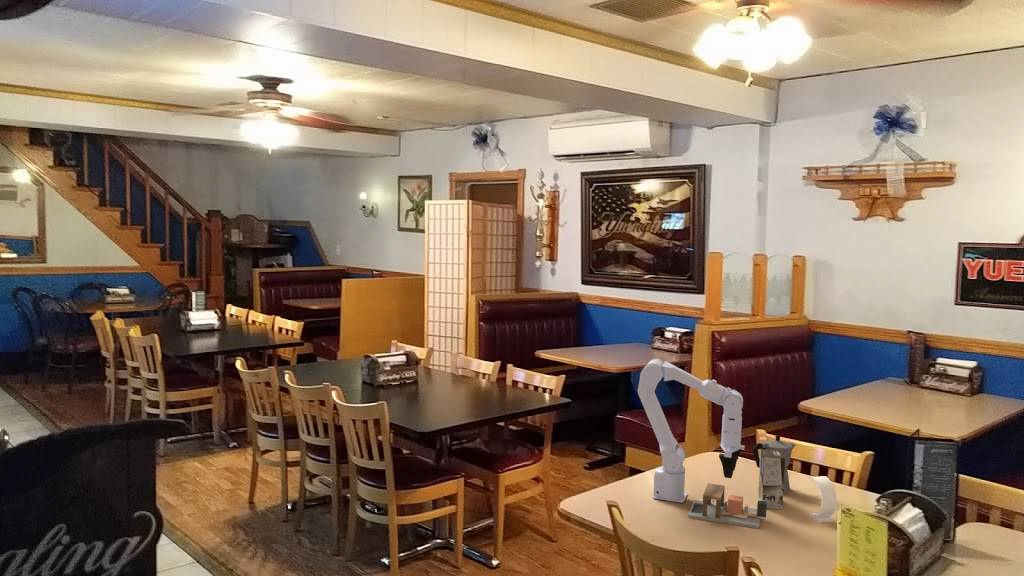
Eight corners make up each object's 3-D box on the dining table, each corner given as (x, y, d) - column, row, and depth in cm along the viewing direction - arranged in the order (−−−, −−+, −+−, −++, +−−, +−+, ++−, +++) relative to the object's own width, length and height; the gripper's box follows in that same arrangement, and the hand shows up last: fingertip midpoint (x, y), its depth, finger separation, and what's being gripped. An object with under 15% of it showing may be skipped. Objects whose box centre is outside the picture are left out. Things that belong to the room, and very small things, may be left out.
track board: (687, 517, 221) (688, 514, 221) (694, 502, 234) (694, 499, 233) (758, 528, 214) (759, 525, 214) (761, 512, 226) (761, 509, 226)
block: (727, 512, 222) (728, 499, 221) (728, 507, 225) (729, 494, 225) (741, 514, 220) (742, 501, 220) (742, 509, 224) (743, 496, 223)
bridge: (702, 515, 221) (703, 495, 220) (707, 502, 231) (707, 483, 230) (719, 518, 219) (720, 497, 218) (723, 505, 229) (724, 485, 229)
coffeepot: (785, 482, 252) (787, 430, 251) (801, 492, 243) (804, 438, 242) (743, 485, 249) (745, 432, 247) (758, 495, 240) (761, 440, 238)
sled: (721, 514, 221) (722, 500, 221) (723, 507, 227) (724, 493, 226) (765, 521, 217) (766, 506, 216) (766, 514, 222) (767, 499, 222)
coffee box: (783, 510, 228) (785, 458, 227) (761, 508, 229) (763, 456, 228) (778, 499, 237) (781, 449, 236) (757, 497, 238) (759, 448, 237)
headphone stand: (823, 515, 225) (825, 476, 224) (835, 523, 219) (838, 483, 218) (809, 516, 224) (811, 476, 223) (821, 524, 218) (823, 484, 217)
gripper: (742, 438, 222) (740, 483, 223) (747, 426, 235) (745, 468, 236) (718, 435, 224) (716, 479, 226) (724, 423, 238) (722, 465, 239)
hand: (729, 473), depth 231 cm, fingers open, 7 cm apart
